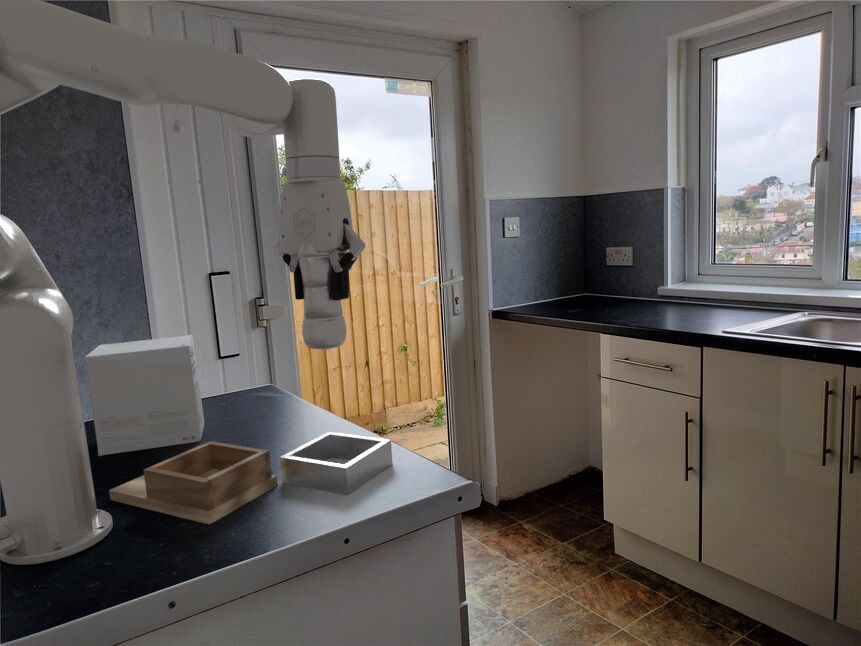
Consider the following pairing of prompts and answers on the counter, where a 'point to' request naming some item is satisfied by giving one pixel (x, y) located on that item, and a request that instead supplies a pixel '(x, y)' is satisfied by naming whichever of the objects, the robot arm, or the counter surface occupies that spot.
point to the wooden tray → (201, 482)
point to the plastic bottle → (320, 301)
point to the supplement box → (145, 394)
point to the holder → (315, 473)
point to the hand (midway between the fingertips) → (322, 297)
